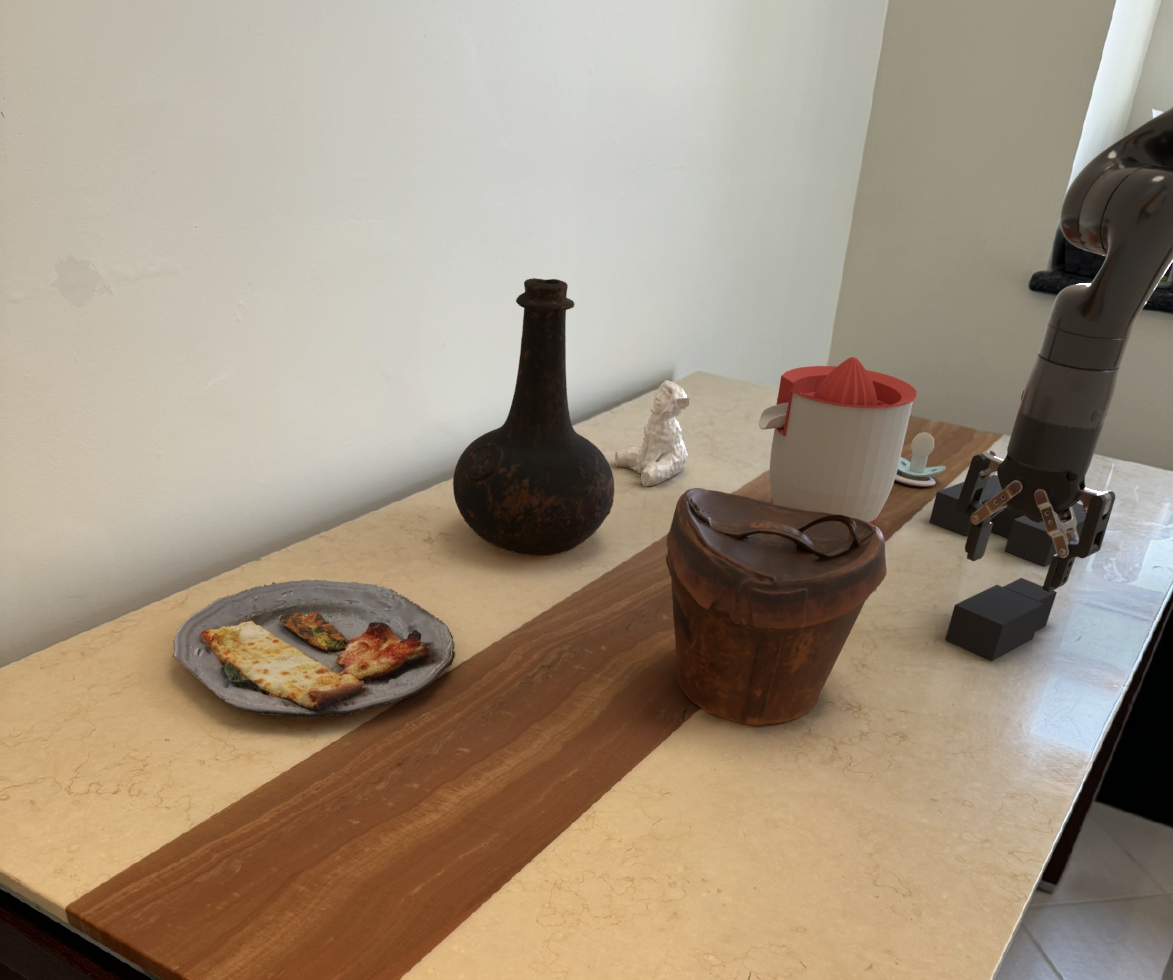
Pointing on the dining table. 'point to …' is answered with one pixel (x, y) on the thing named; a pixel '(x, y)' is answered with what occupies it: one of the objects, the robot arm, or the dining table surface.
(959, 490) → the socket pad
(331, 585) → the food plate
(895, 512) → the dining table surface
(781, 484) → the citrus juicer
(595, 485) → the glass bottle
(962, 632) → the pad
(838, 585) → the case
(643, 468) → the seated beast figurine
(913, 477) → the pacifier
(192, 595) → the dining table surface
